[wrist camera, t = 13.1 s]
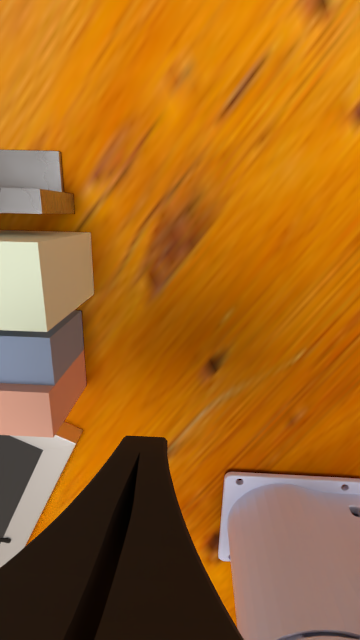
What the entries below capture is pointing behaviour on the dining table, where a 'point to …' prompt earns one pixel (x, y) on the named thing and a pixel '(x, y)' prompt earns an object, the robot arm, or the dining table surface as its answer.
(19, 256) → the beige rectangular block
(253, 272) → the dining table surface
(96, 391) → the dining table surface
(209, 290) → the dining table surface
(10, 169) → the bookend
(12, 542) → the picture frame
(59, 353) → the shelved books
